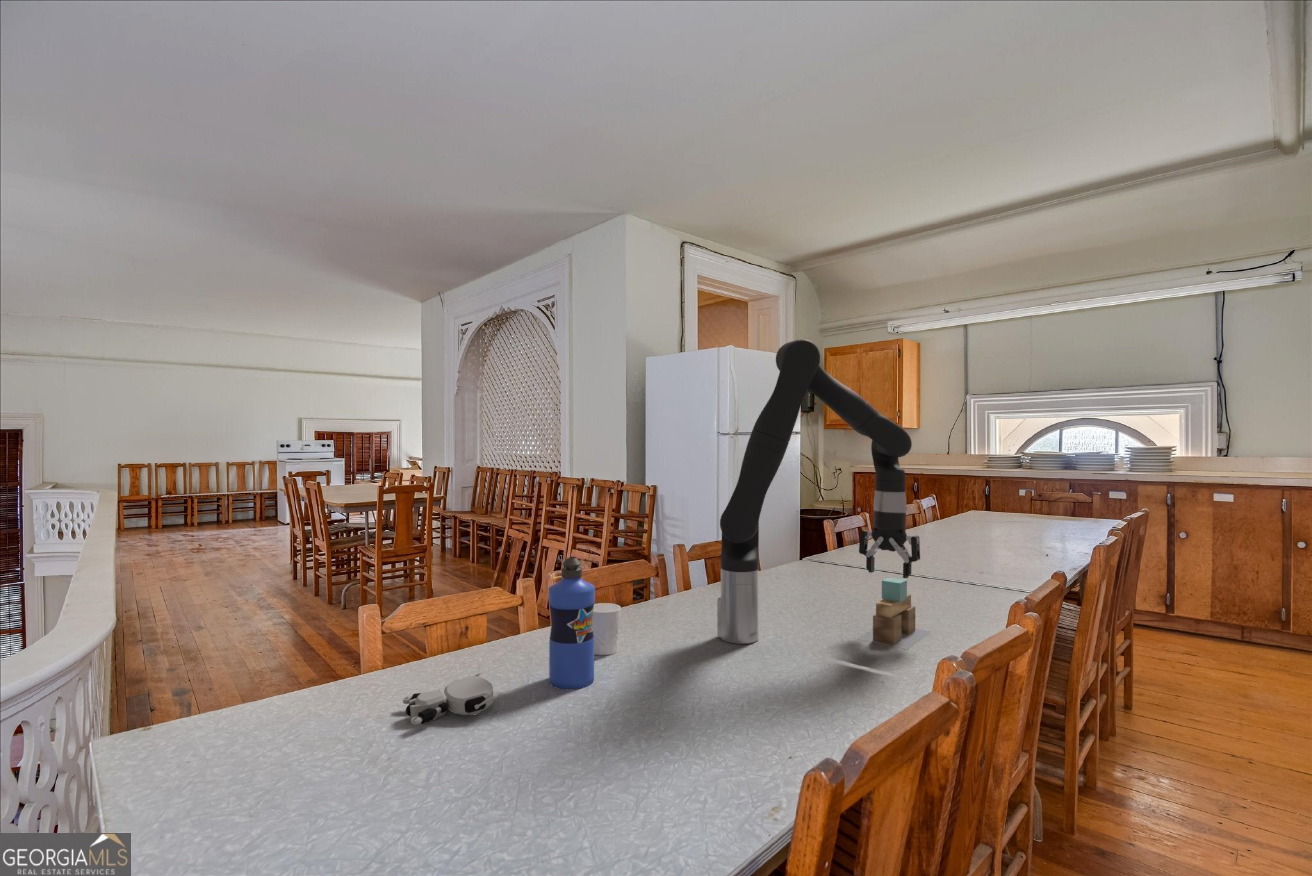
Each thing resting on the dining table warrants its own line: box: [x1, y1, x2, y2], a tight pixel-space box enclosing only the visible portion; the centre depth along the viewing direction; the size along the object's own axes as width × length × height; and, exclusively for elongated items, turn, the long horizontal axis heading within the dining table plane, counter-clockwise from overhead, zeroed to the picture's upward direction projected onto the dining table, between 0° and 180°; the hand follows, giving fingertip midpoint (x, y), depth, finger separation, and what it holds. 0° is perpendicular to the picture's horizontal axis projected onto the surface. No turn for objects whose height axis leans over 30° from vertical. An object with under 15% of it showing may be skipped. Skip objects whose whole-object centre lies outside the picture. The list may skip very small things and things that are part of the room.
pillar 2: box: [899, 605, 916, 635], centre depth 157 cm, size 5×5×6 cm
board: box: [856, 627, 932, 651], centre depth 154 cm, size 12×18×1 cm, turn 139°
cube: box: [881, 577, 908, 602], centre depth 154 cm, size 4×4×4 cm
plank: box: [875, 593, 912, 618], centre depth 154 cm, size 4×14×3 cm, turn 139°
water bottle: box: [548, 556, 596, 690], centre depth 127 cm, size 9×9×25 cm
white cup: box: [592, 602, 622, 656], centre depth 145 cm, size 8×8×10 cm
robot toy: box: [402, 672, 498, 725], centre depth 112 cm, size 12×4×15 cm
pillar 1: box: [872, 613, 901, 645], centre depth 150 cm, size 5×5×6 cm
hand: (888, 575), depth 154 cm, fingers open, 8 cm apart
